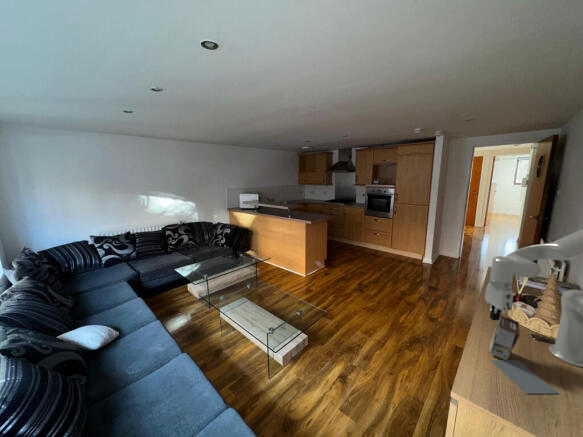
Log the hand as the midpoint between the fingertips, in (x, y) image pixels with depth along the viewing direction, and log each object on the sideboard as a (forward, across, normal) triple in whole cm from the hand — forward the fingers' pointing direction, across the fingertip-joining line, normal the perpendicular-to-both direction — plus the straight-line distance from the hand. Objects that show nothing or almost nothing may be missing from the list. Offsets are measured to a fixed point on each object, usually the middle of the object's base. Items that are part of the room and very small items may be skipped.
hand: (494, 319), depth 109 cm
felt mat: (+15, -17, 0) cm, 22 cm away
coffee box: (+14, -4, 0) cm, 14 cm away
